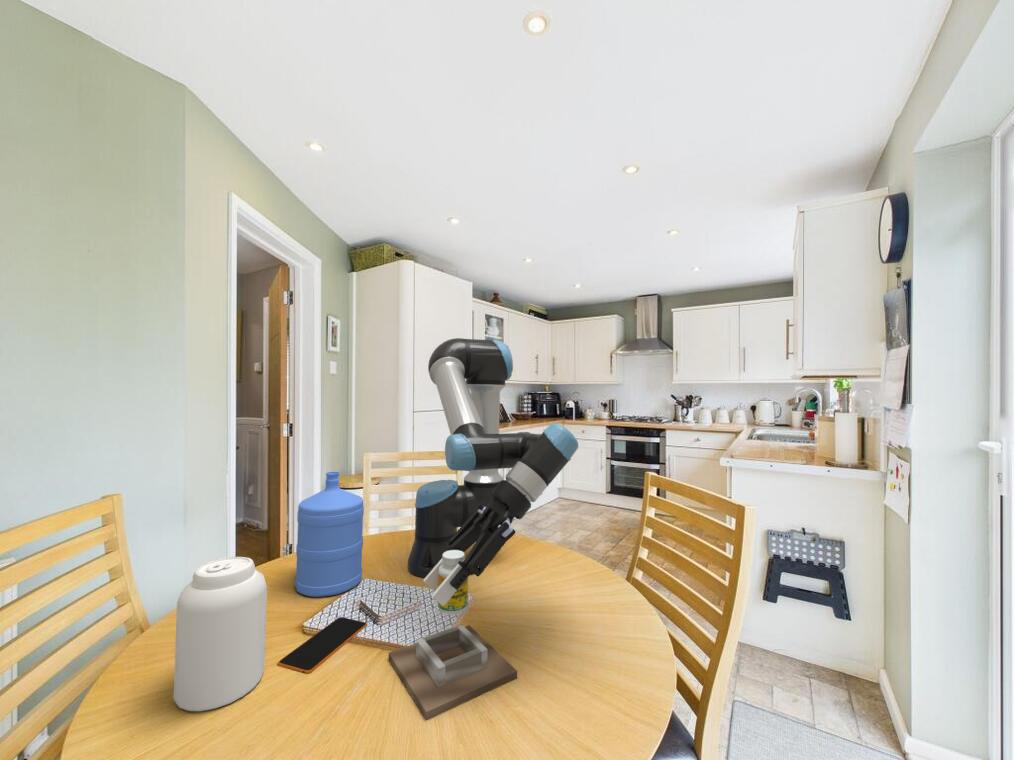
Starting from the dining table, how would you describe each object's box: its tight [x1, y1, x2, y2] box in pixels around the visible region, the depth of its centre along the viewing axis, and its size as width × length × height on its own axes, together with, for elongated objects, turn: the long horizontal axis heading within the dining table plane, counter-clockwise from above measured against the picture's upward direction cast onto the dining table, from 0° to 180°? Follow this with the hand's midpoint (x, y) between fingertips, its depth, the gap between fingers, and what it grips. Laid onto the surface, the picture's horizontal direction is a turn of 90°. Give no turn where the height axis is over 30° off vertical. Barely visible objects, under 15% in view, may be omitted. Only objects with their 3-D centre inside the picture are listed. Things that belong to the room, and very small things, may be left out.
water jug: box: [294, 471, 365, 598], centre depth 107 cm, size 16×16×28 cm
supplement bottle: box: [437, 550, 469, 616], centre depth 76 cm, size 5×5×10 cm
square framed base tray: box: [387, 624, 518, 721], centre depth 75 cm, size 17×17×4 cm
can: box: [173, 556, 268, 712], centre depth 70 cm, size 12×12×20 cm
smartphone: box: [277, 616, 368, 675], centre depth 82 cm, size 8×17×1 cm, turn 162°
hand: (433, 592), depth 74 cm, fingers closed on supplement bottle, 5 cm apart
